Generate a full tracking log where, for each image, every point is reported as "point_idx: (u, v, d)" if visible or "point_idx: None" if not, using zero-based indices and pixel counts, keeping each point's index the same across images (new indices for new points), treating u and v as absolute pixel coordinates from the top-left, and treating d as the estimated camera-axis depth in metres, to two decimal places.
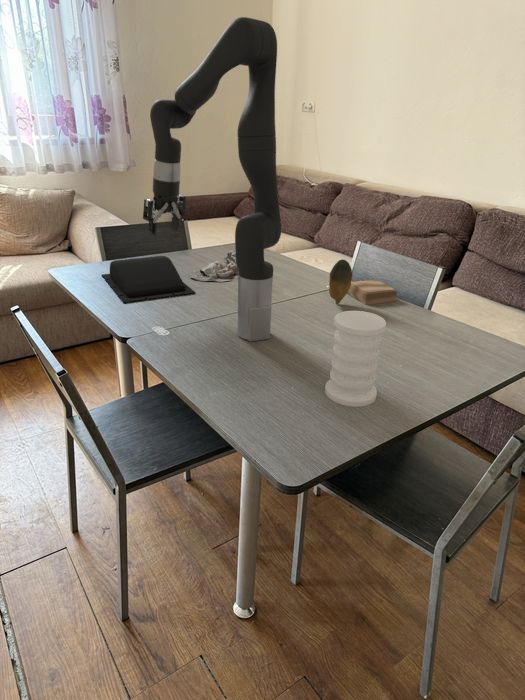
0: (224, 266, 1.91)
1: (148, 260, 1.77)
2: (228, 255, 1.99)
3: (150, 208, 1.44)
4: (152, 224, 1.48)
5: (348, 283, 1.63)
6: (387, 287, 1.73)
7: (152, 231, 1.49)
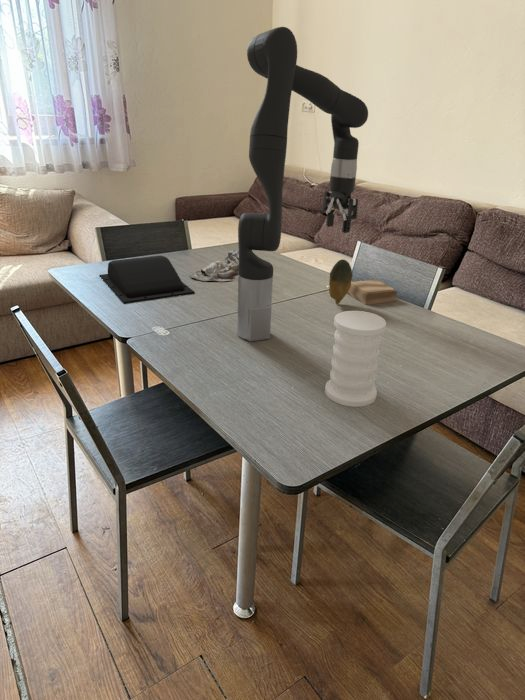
0: (225, 266, 1.91)
1: (146, 260, 1.77)
2: (229, 255, 1.99)
3: (325, 198, 1.60)
4: None
5: (348, 283, 1.63)
6: (387, 287, 1.73)
7: (327, 222, 1.62)
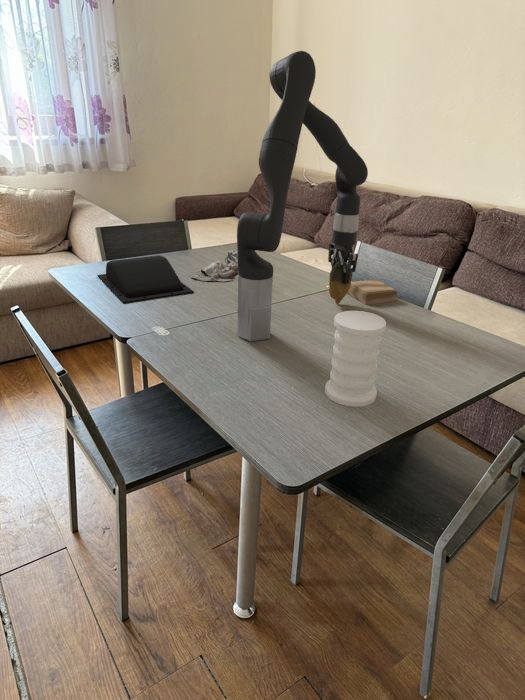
0: (225, 266, 1.91)
1: (145, 260, 1.77)
2: (228, 255, 1.99)
3: (329, 250, 1.65)
4: (332, 266, 1.66)
5: (348, 283, 1.63)
6: (387, 287, 1.73)
7: None
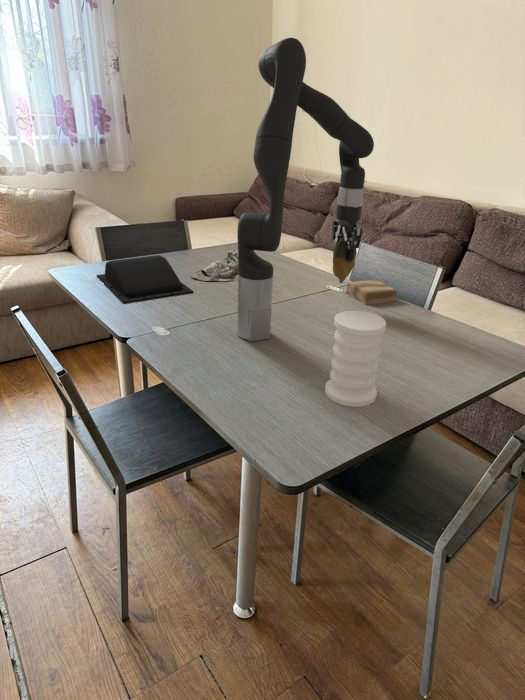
0: (225, 266, 1.91)
1: (144, 260, 1.77)
2: (228, 255, 1.99)
3: (333, 227, 1.62)
4: None
5: (352, 261, 1.59)
6: (387, 287, 1.73)
7: None
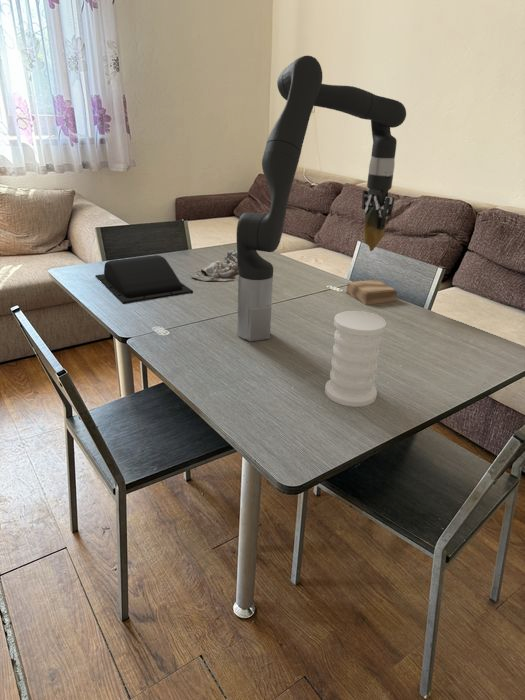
0: (225, 266, 1.91)
1: (143, 260, 1.77)
2: (228, 255, 2.00)
3: (363, 197, 1.66)
4: (366, 213, 1.67)
5: (383, 229, 1.64)
6: (387, 287, 1.73)
7: None
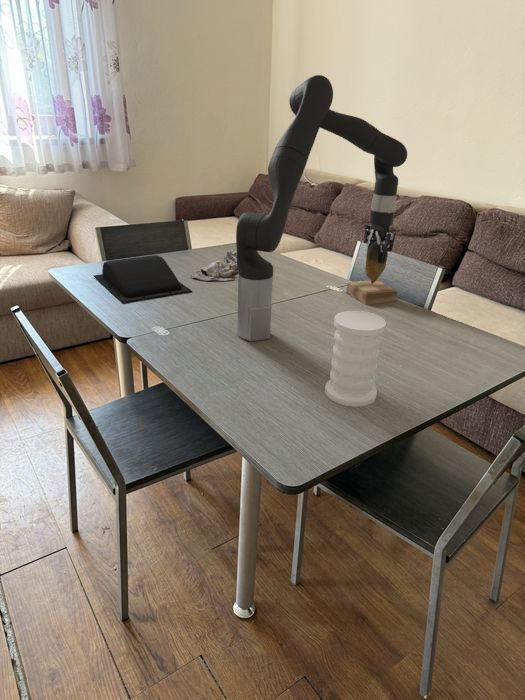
0: (225, 265, 1.91)
1: (142, 260, 1.77)
2: (228, 254, 2.00)
3: (365, 231, 1.71)
4: (368, 247, 1.72)
5: None
6: (387, 287, 1.73)
7: None
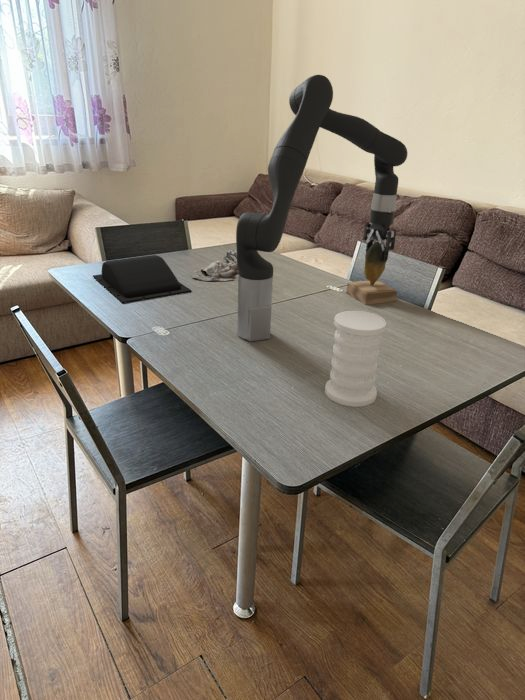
0: (225, 265, 1.91)
1: (141, 260, 1.77)
2: (227, 254, 2.00)
3: (365, 228, 1.71)
4: (367, 244, 1.72)
5: (383, 265, 1.69)
6: (387, 287, 1.73)
7: (366, 250, 1.73)
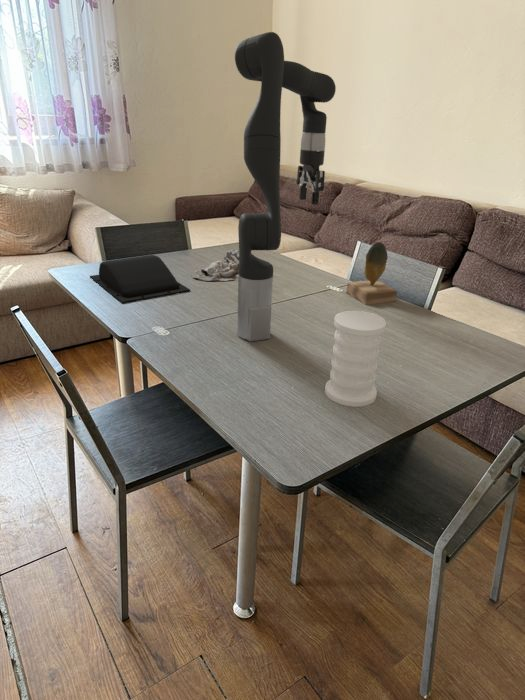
0: (226, 265, 1.91)
1: (139, 259, 1.77)
2: (227, 254, 2.00)
3: (298, 172, 1.67)
4: (300, 189, 1.68)
5: (383, 265, 1.69)
6: (387, 287, 1.73)
7: None
